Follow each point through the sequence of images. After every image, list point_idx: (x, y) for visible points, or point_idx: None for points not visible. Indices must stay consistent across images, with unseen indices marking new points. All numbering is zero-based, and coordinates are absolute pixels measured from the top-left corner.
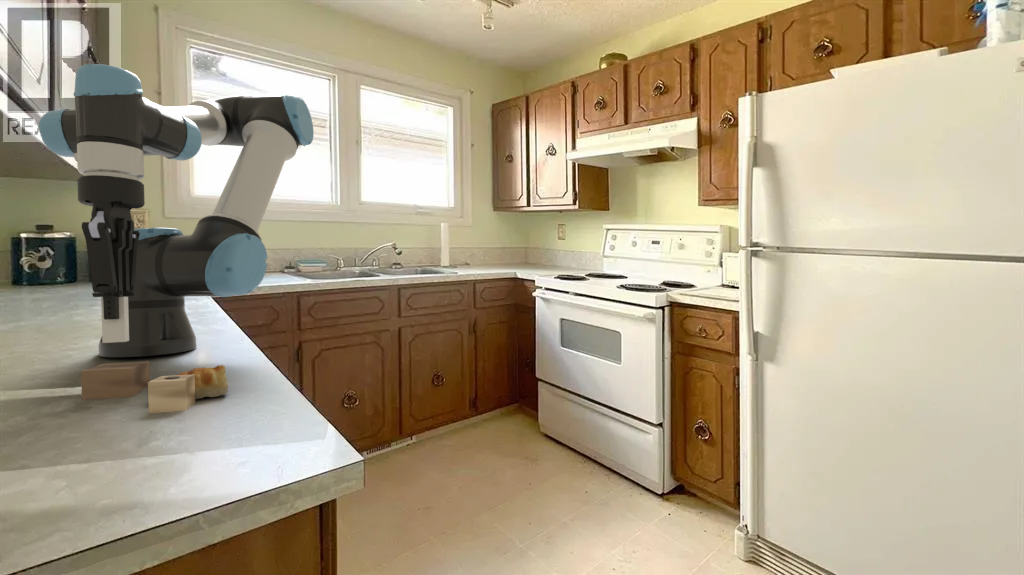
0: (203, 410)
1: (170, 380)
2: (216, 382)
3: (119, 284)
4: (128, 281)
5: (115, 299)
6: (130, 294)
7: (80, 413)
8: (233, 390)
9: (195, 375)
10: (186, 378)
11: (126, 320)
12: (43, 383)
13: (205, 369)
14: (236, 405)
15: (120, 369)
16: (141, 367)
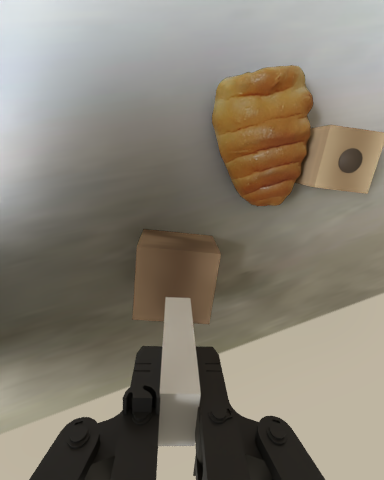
0: (367, 107)
1: (374, 158)
2: (306, 88)
3: (237, 451)
4: (128, 469)
5: (225, 399)
6: (155, 395)
7: (280, 273)
8: (223, 70)
9: (309, 126)
10: (371, 132)
11: (180, 330)
12: (19, 394)
13: (287, 109)
14: (365, 51)
15: (217, 271)
16: (179, 248)
